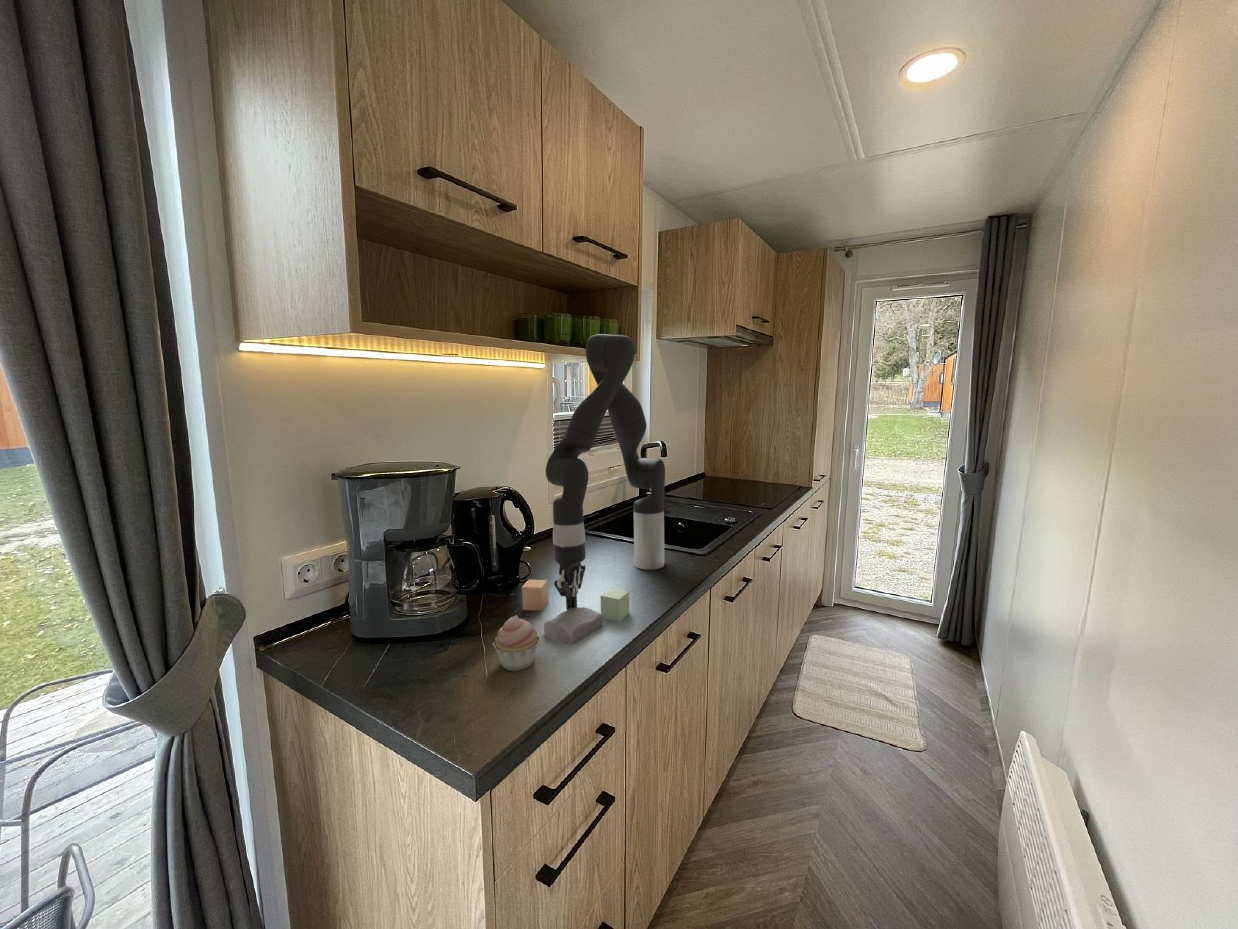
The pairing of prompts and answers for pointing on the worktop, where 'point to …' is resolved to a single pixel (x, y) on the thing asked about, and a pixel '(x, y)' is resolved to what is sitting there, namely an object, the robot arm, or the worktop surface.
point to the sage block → (615, 604)
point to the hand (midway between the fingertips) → (571, 609)
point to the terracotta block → (535, 594)
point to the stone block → (573, 625)
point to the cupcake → (516, 644)
